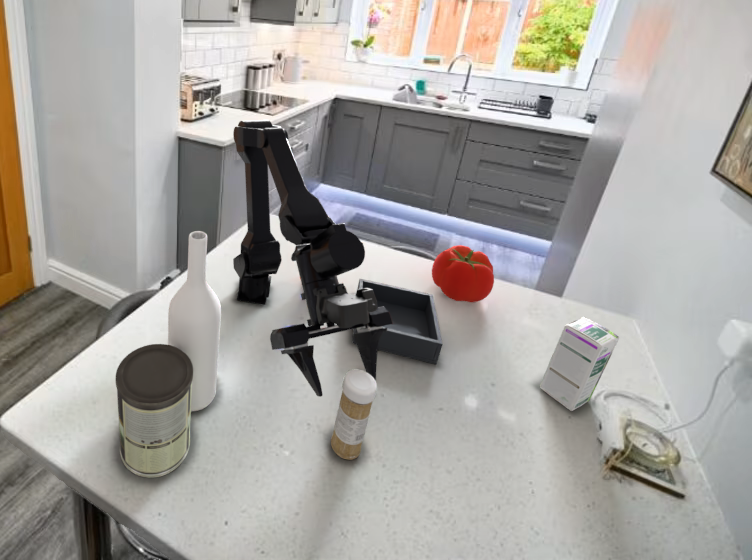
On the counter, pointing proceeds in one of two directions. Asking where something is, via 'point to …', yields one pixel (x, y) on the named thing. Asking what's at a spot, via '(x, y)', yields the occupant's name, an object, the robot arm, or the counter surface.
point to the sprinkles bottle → (353, 413)
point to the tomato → (463, 274)
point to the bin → (407, 322)
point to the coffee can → (154, 409)
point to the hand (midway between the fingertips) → (347, 388)
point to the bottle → (197, 323)
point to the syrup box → (578, 362)
